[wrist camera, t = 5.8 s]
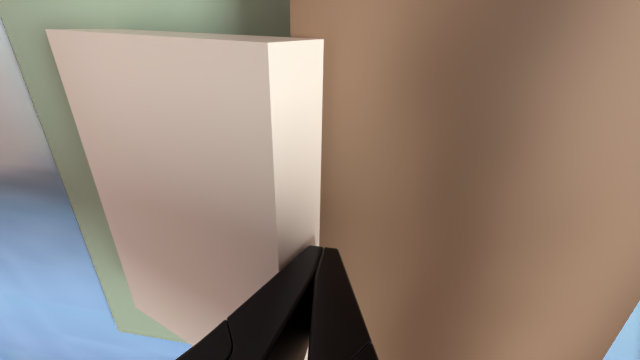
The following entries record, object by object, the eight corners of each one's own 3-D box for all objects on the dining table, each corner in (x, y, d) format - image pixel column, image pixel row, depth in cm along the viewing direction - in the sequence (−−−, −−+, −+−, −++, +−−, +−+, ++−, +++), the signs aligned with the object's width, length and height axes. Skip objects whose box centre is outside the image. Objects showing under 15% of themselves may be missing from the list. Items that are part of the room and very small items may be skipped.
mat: (353, -154, 8) (352, -165, 8) (329, 358, 17) (327, 367, 17) (-39, -133, 10) (-59, -140, 9) (124, 323, 19) (118, 331, 18)
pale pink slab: (316, 358, 12) (285, 408, 11) (174, 279, 16) (135, 307, 14) (323, 39, 7) (267, 42, 6) (114, 28, 11) (45, 28, 9)
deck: (771, -177, 7) (1015, -301, 4) (510, 389, 16) (537, 462, 13) (315, -152, 8) (284, -234, 6) (310, 355, 17) (298, 416, 15)
